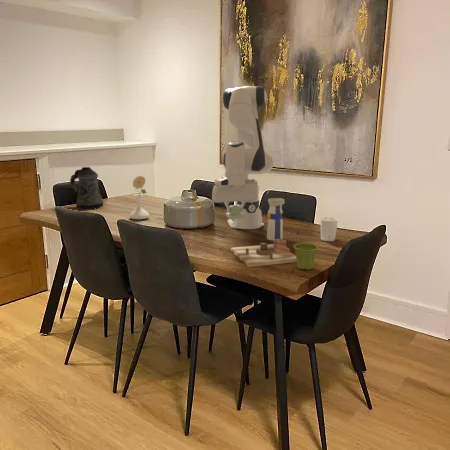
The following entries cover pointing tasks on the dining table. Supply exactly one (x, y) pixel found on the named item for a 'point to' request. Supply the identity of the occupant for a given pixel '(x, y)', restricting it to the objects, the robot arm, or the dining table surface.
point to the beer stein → (87, 189)
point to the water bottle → (275, 219)
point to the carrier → (265, 254)
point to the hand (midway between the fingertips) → (234, 211)
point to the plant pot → (305, 255)
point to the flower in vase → (139, 199)
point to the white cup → (328, 229)
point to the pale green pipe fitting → (235, 212)
